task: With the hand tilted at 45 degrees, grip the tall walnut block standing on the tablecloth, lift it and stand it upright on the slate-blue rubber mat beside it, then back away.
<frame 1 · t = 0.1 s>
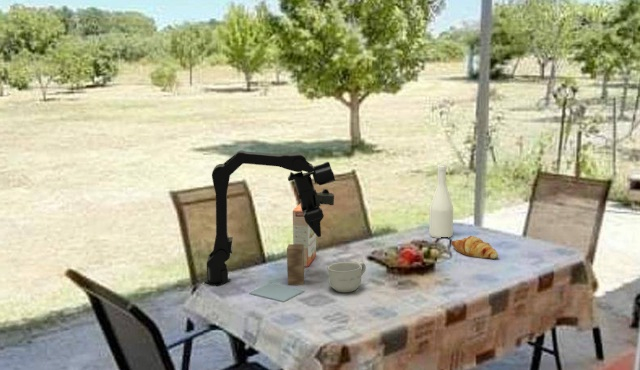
hand: (318, 233, 220), 15 cm above the table, tool pointing down, fingers open, 9 cm apart
walnut block: (296, 282, 218), on the table
slate mat: (276, 292, 209), on the table
teacup: (349, 289, 212), on the table
croissant: (473, 255, 246), on the table
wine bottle: (440, 236, 271), on the table
cracker box: (305, 261, 241), on the table
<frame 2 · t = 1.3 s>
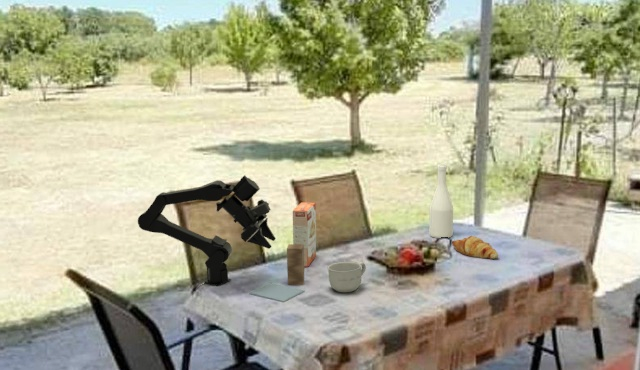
hand: (272, 243, 216), 13 cm above the table, tool tilted 45°, fingers open, 9 cm apart
nothing on the table moved.
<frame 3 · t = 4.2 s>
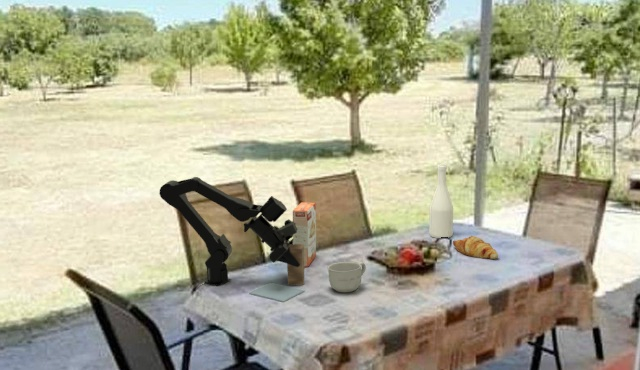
hand: (299, 263, 217), 7 cm above the table, tool tilted 45°, fingers closed on walnut block, 5 cm apart
walnut block: (296, 282, 218), on the table, touching gripper
everything else where it was.
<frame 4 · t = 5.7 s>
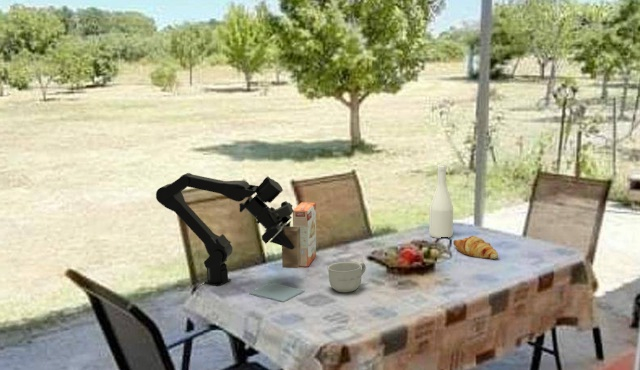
hand: (295, 246, 213), 13 cm above the table, tool tilted 45°, fingers closed on walnut block, 5 cm apart
walnut block: (291, 265, 214), point 7 cm above the table, touching gripper
everything else where it was.
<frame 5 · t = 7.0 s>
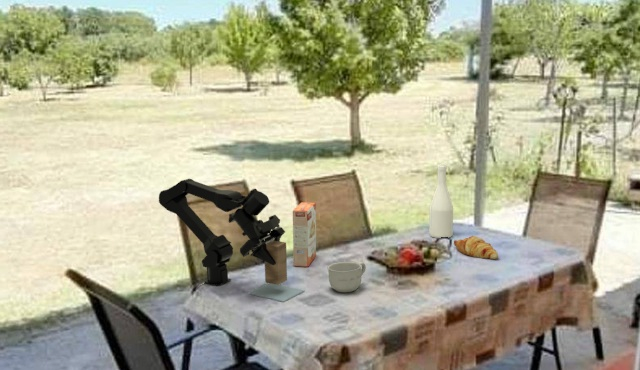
hand: (279, 261, 207), 10 cm above the table, tool tilted 45°, fingers closed on walnut block, 5 cm apart
walnut block: (276, 281, 209), point 4 cm above the table, touching gripper
everything else where it was.
when the fingers open (8 cm above the table, at t = 8.2 s): walnut block drops 1 cm, resting on slate mat.
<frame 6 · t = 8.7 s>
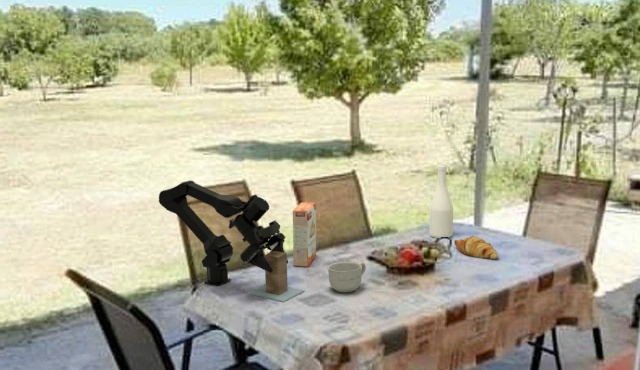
hand: (279, 267, 207), 9 cm above the table, tool tilted 45°, fingers open, 9 cm apart
walnut block: (276, 291, 209), resting on slate mat
everything else where it was.
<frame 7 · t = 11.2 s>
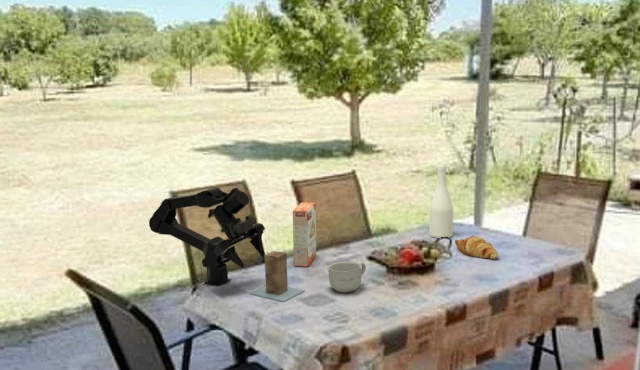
hand: (253, 261, 211), 9 cm above the table, tool tilted 40°, fingers open, 9 cm apart
nothing on the table moved.
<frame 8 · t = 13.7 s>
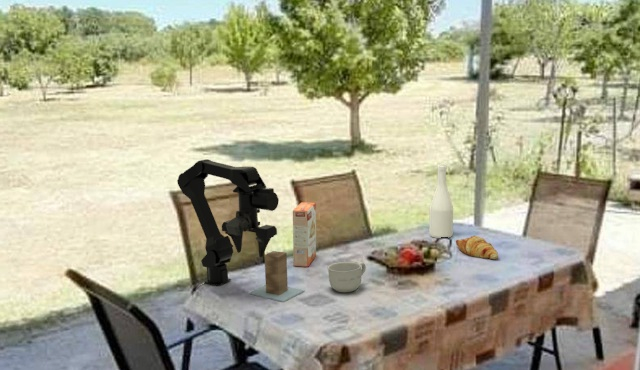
hand: (250, 254, 210), 12 cm above the table, tool pointing down, fingers open, 9 cm apart
nothing on the table moved.
at the end: walnut block inside the target area on the slate mat (0.0 cm from its centre), point 0.4 cm above the slate mat's base; walnut block tilted 0°; the gripper is holding nothing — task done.
